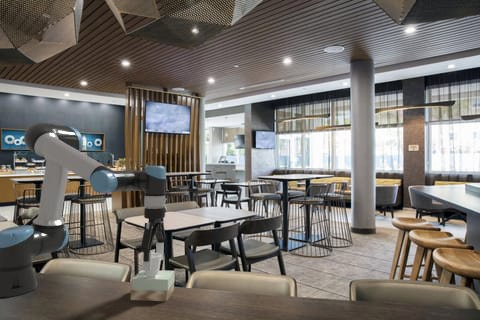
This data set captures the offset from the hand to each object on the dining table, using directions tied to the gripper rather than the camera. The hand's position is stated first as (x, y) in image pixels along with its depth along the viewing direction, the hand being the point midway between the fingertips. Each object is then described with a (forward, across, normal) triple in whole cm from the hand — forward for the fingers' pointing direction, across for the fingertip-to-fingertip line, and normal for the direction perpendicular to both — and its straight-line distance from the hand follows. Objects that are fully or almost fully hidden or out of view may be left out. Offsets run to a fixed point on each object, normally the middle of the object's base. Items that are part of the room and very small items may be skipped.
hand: (153, 264), depth 120 cm
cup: (+4, -1, 0) cm, 4 cm away
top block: (+8, +1, 0) cm, 8 cm away
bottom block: (+12, 0, 0) cm, 12 cm away
